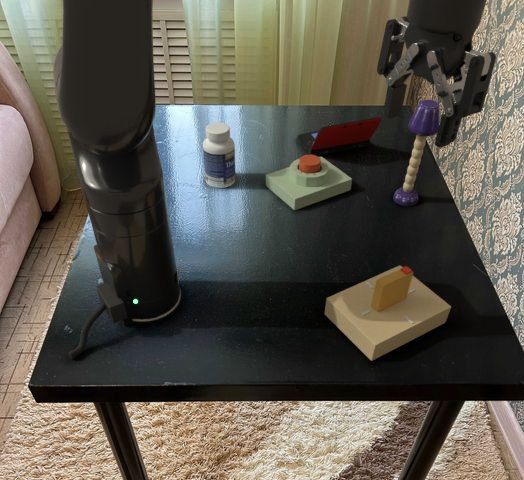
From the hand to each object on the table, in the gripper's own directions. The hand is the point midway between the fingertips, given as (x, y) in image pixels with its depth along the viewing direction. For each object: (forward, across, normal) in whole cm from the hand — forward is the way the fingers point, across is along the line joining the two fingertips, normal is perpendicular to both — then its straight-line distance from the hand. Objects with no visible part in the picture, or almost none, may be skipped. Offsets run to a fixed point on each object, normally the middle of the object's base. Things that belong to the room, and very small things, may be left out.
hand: (416, 130), depth 65 cm
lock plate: (+21, +8, -8) cm, 24 cm away
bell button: (+17, -24, +3) cm, 29 cm away
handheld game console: (+21, -32, +16) cm, 42 cm away
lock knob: (+18, +8, -8) cm, 21 cm away
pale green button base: (+21, -24, +3) cm, 32 cm away
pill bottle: (+21, -34, -9) cm, 41 cm away
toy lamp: (+21, -11, +15) cm, 28 cm away
